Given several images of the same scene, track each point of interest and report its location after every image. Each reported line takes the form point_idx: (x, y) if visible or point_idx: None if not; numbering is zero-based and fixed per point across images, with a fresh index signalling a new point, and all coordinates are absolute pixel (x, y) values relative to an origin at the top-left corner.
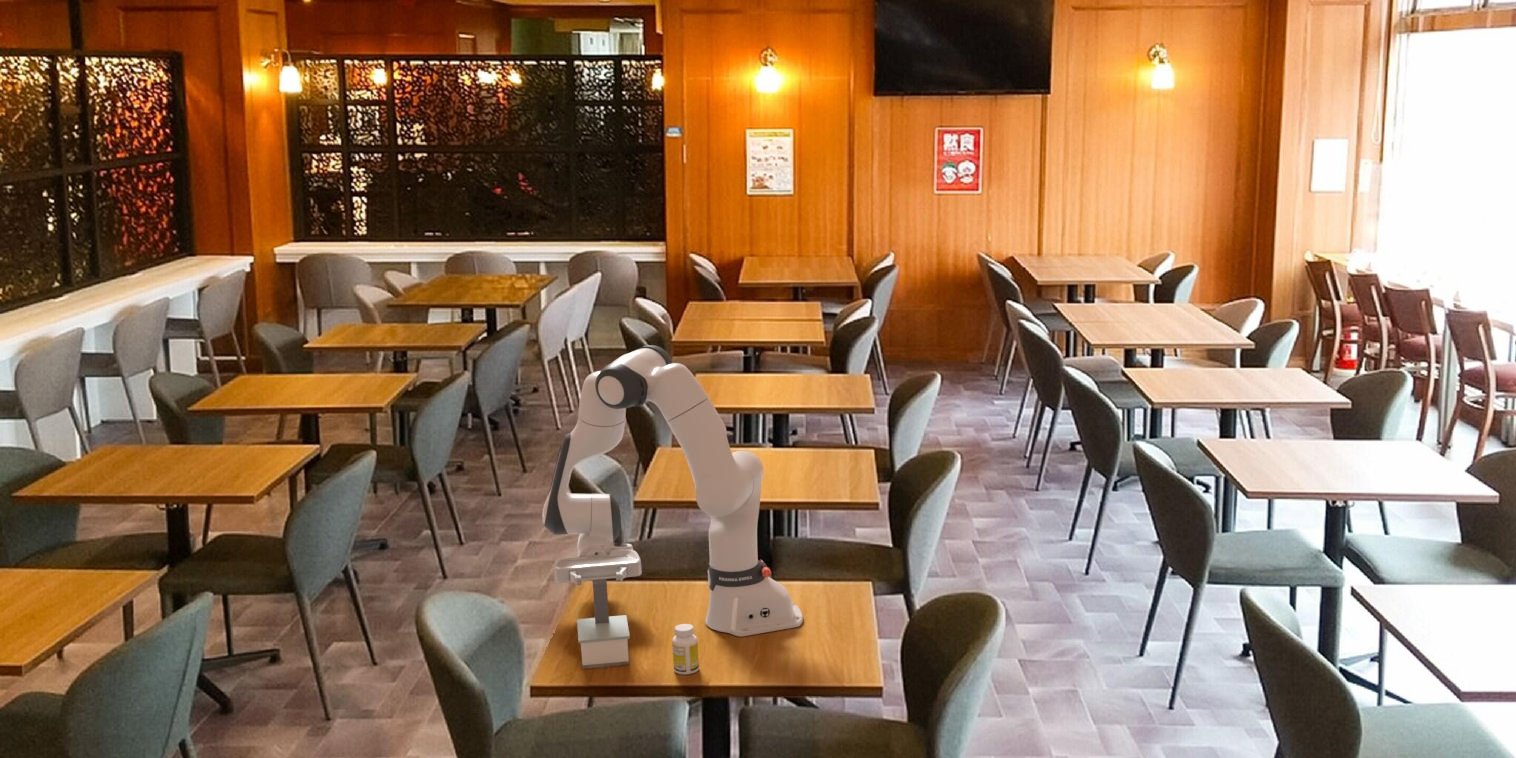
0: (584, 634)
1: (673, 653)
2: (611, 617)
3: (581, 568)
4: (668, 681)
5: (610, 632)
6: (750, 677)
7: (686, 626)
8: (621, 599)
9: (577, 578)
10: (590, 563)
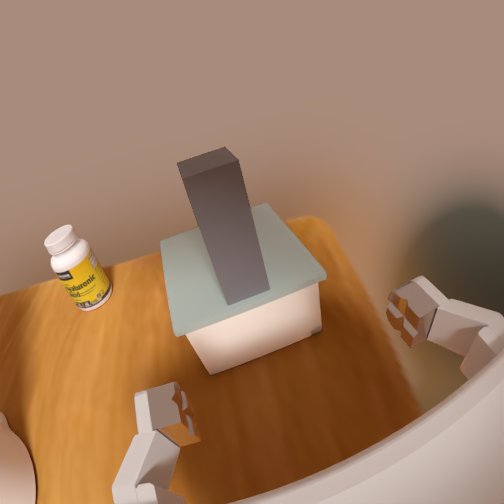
0: (263, 220)
1: (97, 260)
2: (218, 307)
3: (474, 375)
4: (125, 264)
5: (203, 241)
6: (34, 295)
7: (53, 237)
8: None
9: (409, 283)
10: (456, 467)
